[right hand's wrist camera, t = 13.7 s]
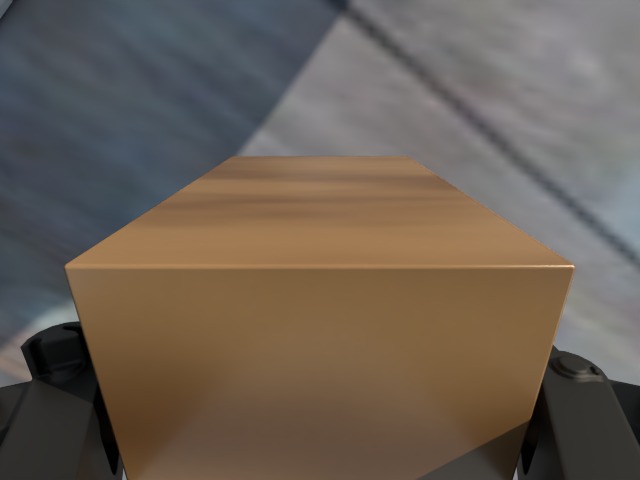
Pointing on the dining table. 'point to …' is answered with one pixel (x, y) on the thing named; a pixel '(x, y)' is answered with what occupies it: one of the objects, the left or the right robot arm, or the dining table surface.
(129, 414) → the block
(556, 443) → the right robot arm
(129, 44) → the dining table surface
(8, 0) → the wall clock
